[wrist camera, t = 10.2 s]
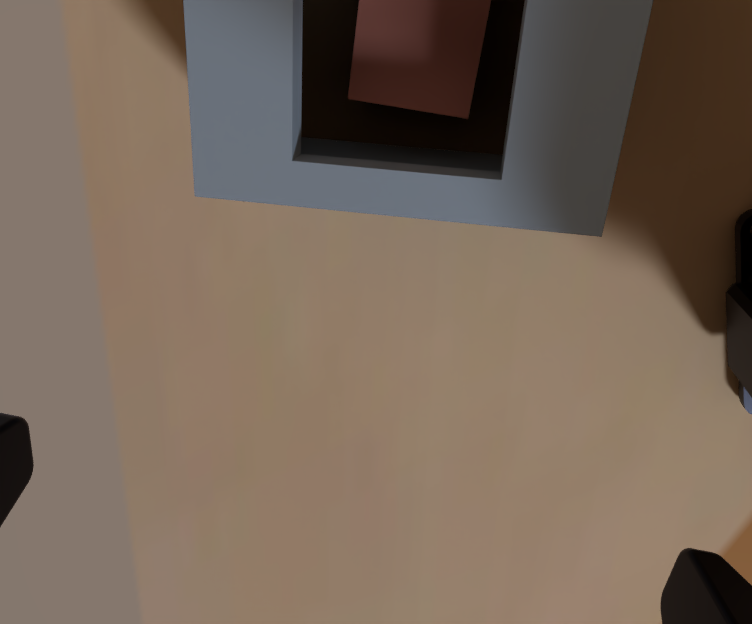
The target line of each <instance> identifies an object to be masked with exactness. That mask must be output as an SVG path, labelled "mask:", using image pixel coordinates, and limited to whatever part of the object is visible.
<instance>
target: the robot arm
mask: <svg viewBox="0 0 752 624" xmlns="http://www.w3.org/2000/svg"><path fill="white" fill-rule="evenodd" d="M751 227H752V209H751V210H748V211H746V212H745V213H743V214H742V215H741V216H740V217H739V219H738V220H737V222H736V226H735V251H736V283H734V284H732V285H731V287H730V288H729V289H728V290H727V292H726V316H727V348H728V365H729V367H730V369H731V370H732V371H733V373H734V374H735V375H736V377H737V378H738V380H739V399H740V402H741V404H742V405H743V407H744V408H745V409H746V410H747V411H748V412H749V413H750V414H752V234H751V233H750V229H751ZM32 472H33V456H32V448H31V441H30V433H29V426H28V423H27V422H26V420H25V419H23V418H22V417H19V416H14V415H8V414H4V413H0V527H1V525H2V524H3V522H4V520H5V519H6V517H7V516H8V514H9V512H10V511H11V509H12V508H13V506H14V504H15V503H16V501H17V500H18V498H19V497H20V495H21V493H22V492H23V490H24V489H25V487H26V485H27V484H28V482H29V480H30V478H31V475H32ZM661 617H662V624H752V585H751V584H749V583H748V582H747V581H746V580H745V579H744V578H743V577H742V576H741V575H740V574H739V573H738V572H737V571H736V570H735V569H734V568H733V567H732V566H731V565H730V564H729V563H728V562H726V561H725V560H724V559H723V558H722V557H721V556H720V555H718V554H716V553H713V552H708V551H702V550H697V549H692V548H687V549H684V550H682V551H681V552H680V554H679V556H678V558H677V560H676V562H675V564H674V567H673V569H672V571H671V574H670V576H669V578H668V580H667V583H666V585H665V587H664V590H663V592H662V597H661Z"/></svg>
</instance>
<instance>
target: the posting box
mask: <svg viewBox="0 0 752 624" xmlns="http://www.w3.org/2000/svg"><path fill="white" fill-rule="evenodd" d="M183 4H184V21H185V38H186V55H187V72H188V89H189V106H190V123H191V140H192V157H193V174H194V191H195V196H197V197H207V198H217V199H227V200H237V201H247V202H257V203H267V204H277V205H287V206H297V207H307V208H317V209H328V210H338V211H348V212H358V213H368V214H378V215H388V216H398V217H408V218H418V219H428V220H438V221H449V222H459V223H469V224H479V225H489V226H499V227H509V228H519V229H529V230H539V231H549V232H559V233H569V234H580V235H590V236H600V237H602V233H603V228H604V224H605V219H606V215H607V210H608V205H609V201H610V196H611V192H612V187H613V183H614V178H615V173H616V169H617V164H618V160H619V155H620V150H621V146H622V141H623V137H624V132H625V128H626V123H627V118H628V114H629V109H630V105H631V100H632V95H633V91H634V86H635V82H636V77H637V72H638V68H639V63H640V59H641V54H642V50H643V45H644V40H645V36H646V31H647V27H648V22H649V17H650V13H651V8H652V4H653V0H525V2H524V9H523V16H522V23H521V30H520V37H519V44H518V51H517V58H516V65H515V72H514V79H513V86H512V93H511V100H510V107H509V114H508V121H507V129H506V136H505V143H504V150H503V155H499V154H487V153H476V152H465V151H453V150H442V149H431V148H419V147H408V146H397V145H385V144H374V143H362V142H351V141H340V140H328V139H317V138H306V137H301V111H302V25H303V0H183Z"/></svg>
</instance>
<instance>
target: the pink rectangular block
mask: <svg viewBox="0 0 752 624" xmlns="http://www.w3.org/2000/svg"><path fill="white" fill-rule="evenodd" d="M490 4H491V0H359V6H358V15H357V23H356V32H355V41H354V49H353V58H352V67H351V75H350V84H349V92H348V99H351V100H357V101H364V102H370V103H376V104H382V105H388V106H394V107H400V108H406V109H412V110H418V111H424V112H430V113H436V114H442V115H448V116H454V117H460V118H466V119H468V116H469V111H470V106H471V101H472V96H473V91H474V86H475V81H476V75H477V70H478V65H479V60H480V55H481V50H482V45H483V40H484V34H485V29H486V24H487V19H488V14H489V9H490Z"/></svg>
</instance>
